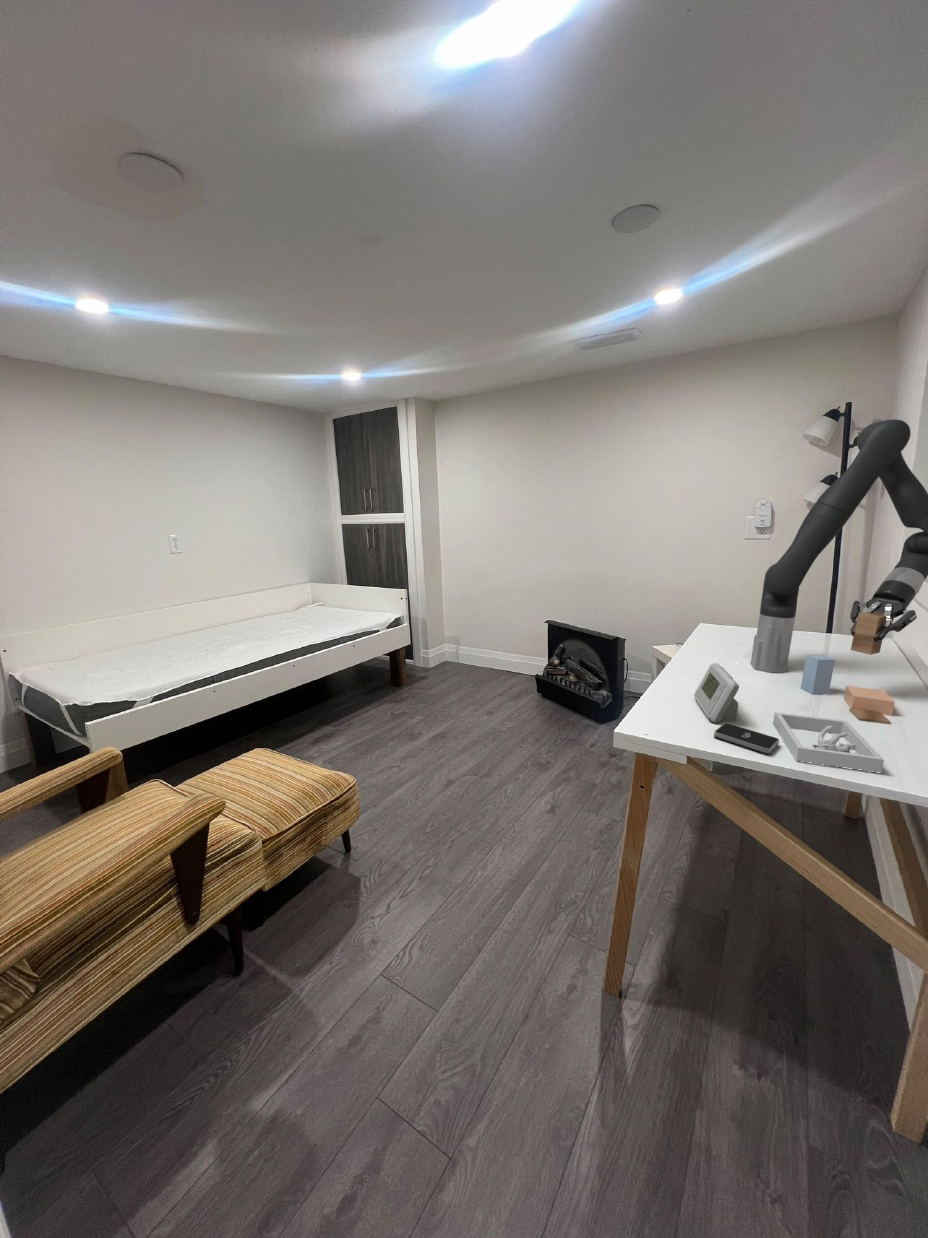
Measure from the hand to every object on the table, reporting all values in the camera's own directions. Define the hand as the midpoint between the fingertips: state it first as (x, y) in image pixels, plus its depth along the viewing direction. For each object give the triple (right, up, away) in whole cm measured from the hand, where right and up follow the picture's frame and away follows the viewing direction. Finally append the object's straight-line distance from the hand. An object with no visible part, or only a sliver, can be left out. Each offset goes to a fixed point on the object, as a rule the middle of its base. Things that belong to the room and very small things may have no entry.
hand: (864, 637), depth 126 cm
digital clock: (-42, -19, -5) cm, 47 cm away
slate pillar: (-8, -15, +7) cm, 19 cm away
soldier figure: (-28, -24, -26) cm, 45 cm away
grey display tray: (-28, -23, -23) cm, 43 cm away
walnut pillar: (+2, -4, +2) cm, 5 cm away
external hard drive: (-43, -23, -21) cm, 53 cm away
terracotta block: (-2, -18, -3) cm, 18 cm away
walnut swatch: (-6, -19, -9) cm, 22 cm away
